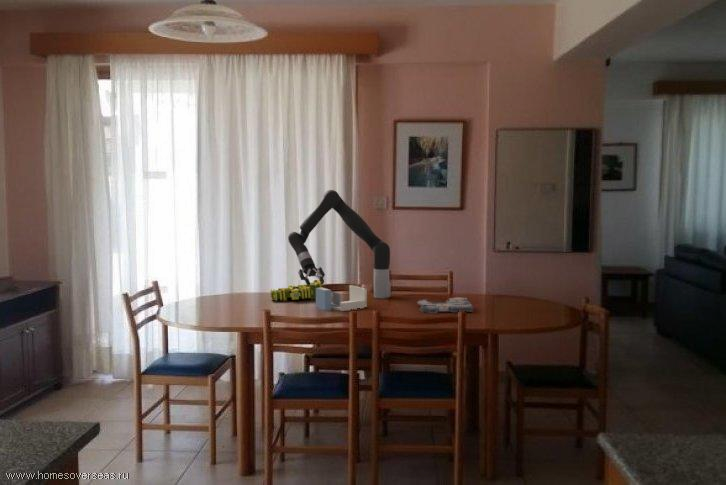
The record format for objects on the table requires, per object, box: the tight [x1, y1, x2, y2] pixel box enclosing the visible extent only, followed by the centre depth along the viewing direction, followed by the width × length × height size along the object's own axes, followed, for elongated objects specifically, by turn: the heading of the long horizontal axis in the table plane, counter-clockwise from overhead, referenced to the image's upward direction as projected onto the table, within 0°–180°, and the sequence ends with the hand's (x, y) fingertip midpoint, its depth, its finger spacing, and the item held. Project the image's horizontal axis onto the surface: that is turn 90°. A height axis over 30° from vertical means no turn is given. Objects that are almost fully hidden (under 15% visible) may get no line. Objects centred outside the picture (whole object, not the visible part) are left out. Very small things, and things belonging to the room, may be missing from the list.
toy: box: [269, 279, 324, 302], centre depth 362 cm, size 17×10×30 cm
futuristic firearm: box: [416, 296, 474, 314], centre depth 333 cm, size 6×28×20 cm
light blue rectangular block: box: [315, 287, 332, 312], centre depth 335 cm, size 4×10×11 cm, turn 33°
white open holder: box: [331, 284, 368, 312], centre depth 340 cm, size 16×16×10 cm
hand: (316, 284), depth 341 cm, fingers open, 8 cm apart
